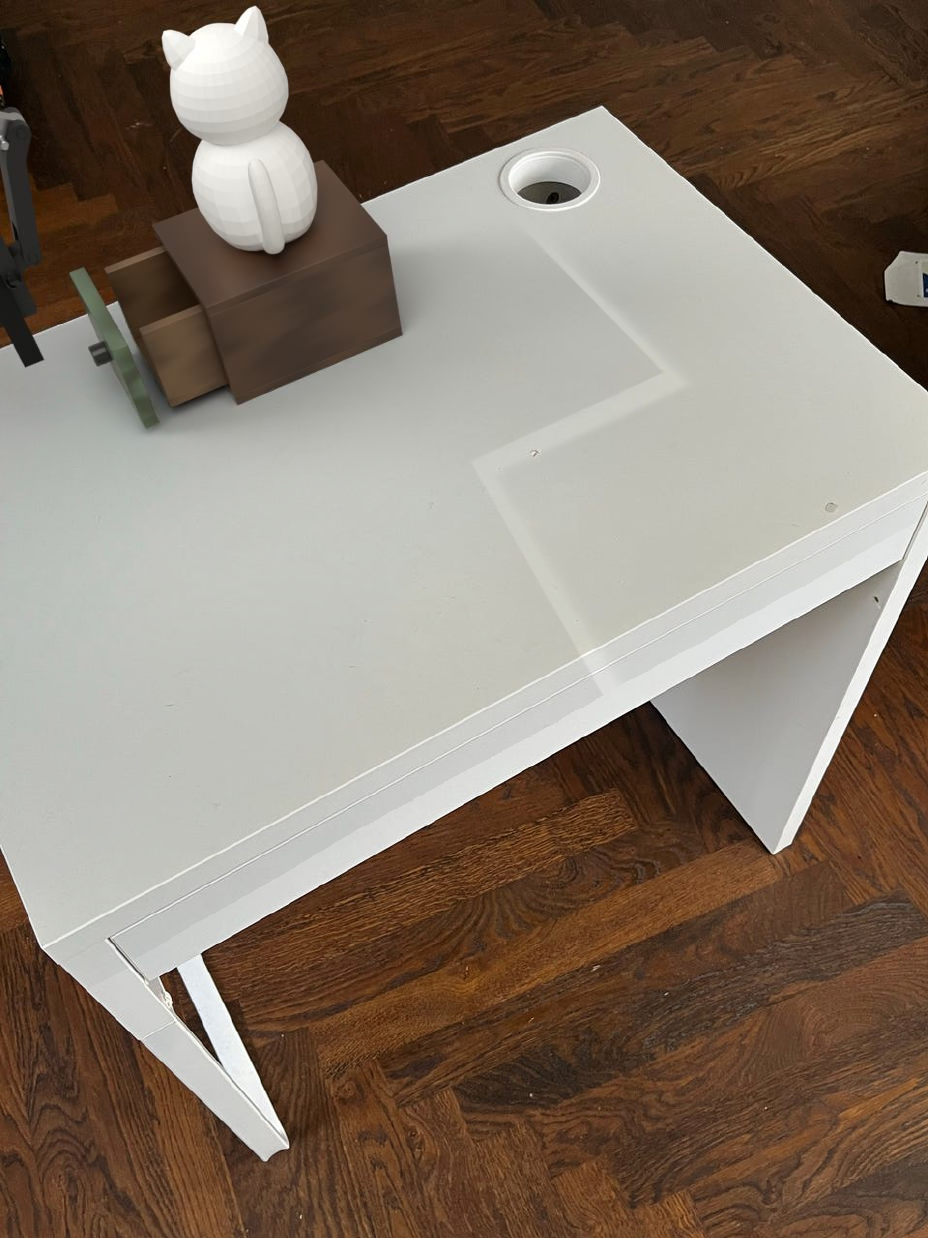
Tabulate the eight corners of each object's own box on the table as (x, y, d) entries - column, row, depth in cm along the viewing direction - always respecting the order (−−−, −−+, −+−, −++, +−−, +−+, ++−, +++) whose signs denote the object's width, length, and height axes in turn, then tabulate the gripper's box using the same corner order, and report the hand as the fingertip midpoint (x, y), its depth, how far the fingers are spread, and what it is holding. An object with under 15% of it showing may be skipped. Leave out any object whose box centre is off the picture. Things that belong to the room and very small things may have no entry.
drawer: (130, 434, 88) (95, 357, 81) (89, 356, 93) (53, 278, 87) (305, 361, 91) (284, 281, 84) (255, 289, 96) (232, 209, 90)
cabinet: (237, 405, 90) (205, 307, 82) (186, 322, 96) (151, 224, 88) (403, 334, 93) (387, 234, 85) (342, 258, 99) (322, 158, 91)
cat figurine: (301, 169, 91) (258, -27, 79) (350, 259, 84) (312, 60, 72) (192, 202, 89) (131, 8, 77) (233, 296, 82) (173, 100, 70)
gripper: (-239, 106, 62) (-44, 419, 81) (-6, 27, 65) (129, 348, 84) (-259, 46, 66) (-69, 357, 85) (-39, -26, 69) (97, 292, 88)
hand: (29, 352), depth 84 cm, fingers closed
